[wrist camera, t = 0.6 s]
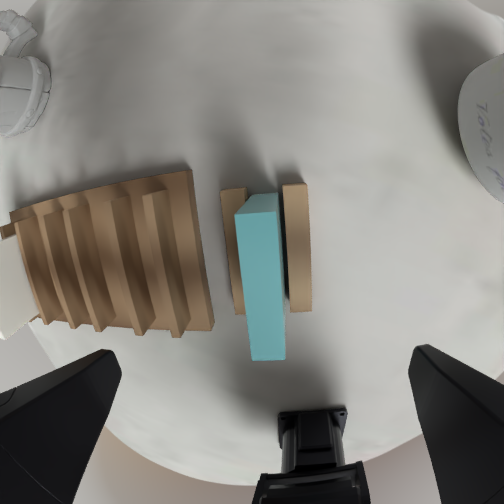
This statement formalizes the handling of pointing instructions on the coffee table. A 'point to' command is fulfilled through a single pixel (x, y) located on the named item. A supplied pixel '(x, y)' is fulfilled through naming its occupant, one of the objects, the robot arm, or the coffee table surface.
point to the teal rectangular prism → (262, 275)
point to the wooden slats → (295, 238)
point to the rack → (118, 256)
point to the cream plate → (14, 289)
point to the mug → (20, 78)
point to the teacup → (484, 124)
